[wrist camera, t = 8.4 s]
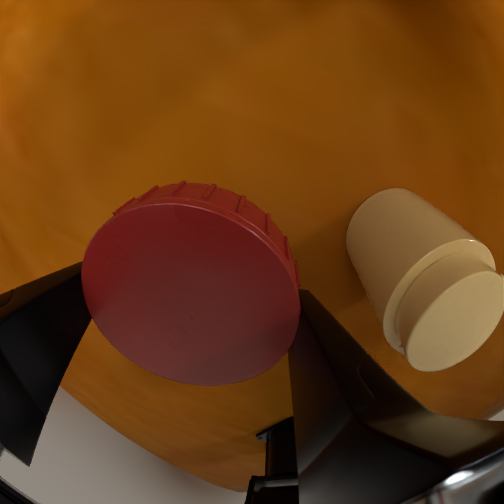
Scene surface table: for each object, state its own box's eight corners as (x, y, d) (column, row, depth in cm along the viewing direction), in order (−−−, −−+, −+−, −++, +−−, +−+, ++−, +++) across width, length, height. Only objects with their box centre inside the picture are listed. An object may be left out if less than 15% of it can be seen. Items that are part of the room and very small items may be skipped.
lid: (162, 135, 7) (132, 144, 6) (339, 267, 9) (353, 303, 7) (86, 286, 10) (62, 316, 8) (222, 370, 11) (216, 406, 10)
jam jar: (385, 293, 18) (431, 392, 10) (325, 242, 17) (363, 349, 9) (446, 231, 16) (523, 308, 8) (394, 166, 14) (491, 225, 6)
